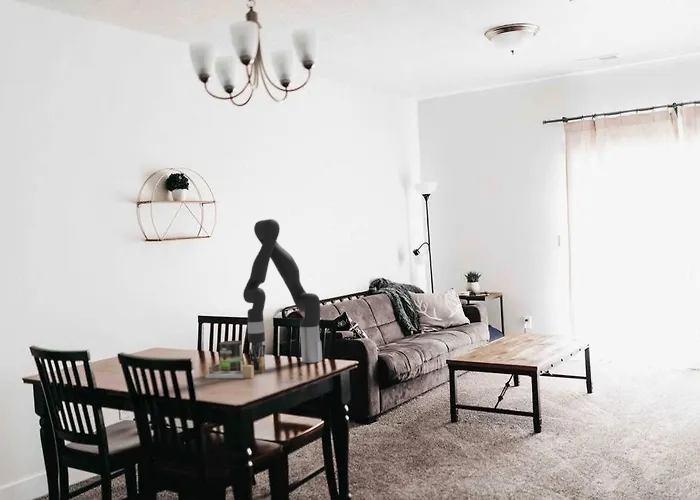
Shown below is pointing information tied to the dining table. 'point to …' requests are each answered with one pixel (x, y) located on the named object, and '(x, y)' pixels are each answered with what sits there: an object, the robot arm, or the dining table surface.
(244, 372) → the empty strip
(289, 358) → the dining table surface
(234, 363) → the coffee can
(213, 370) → the frame
